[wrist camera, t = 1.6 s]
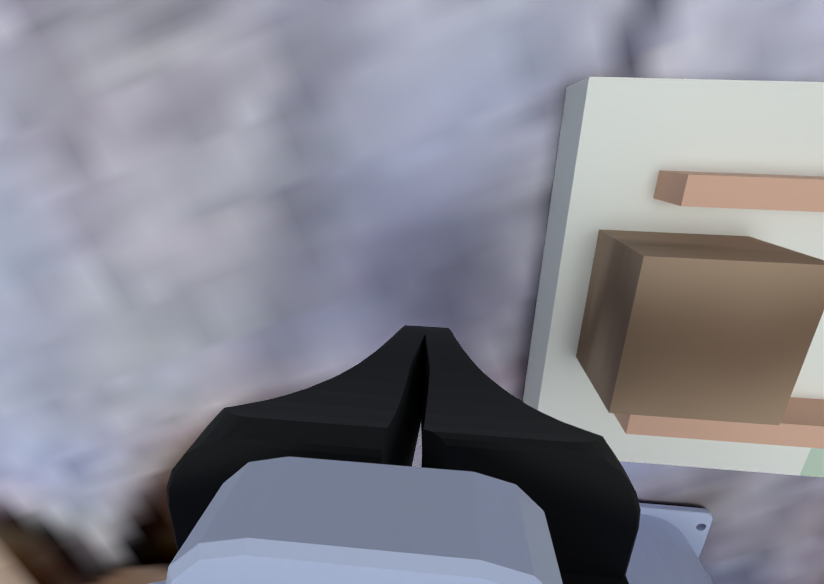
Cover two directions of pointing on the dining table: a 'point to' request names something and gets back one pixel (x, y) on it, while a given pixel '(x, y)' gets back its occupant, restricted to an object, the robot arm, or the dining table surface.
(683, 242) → the walnut block
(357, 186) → the dining table surface
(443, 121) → the dining table surface
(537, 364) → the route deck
